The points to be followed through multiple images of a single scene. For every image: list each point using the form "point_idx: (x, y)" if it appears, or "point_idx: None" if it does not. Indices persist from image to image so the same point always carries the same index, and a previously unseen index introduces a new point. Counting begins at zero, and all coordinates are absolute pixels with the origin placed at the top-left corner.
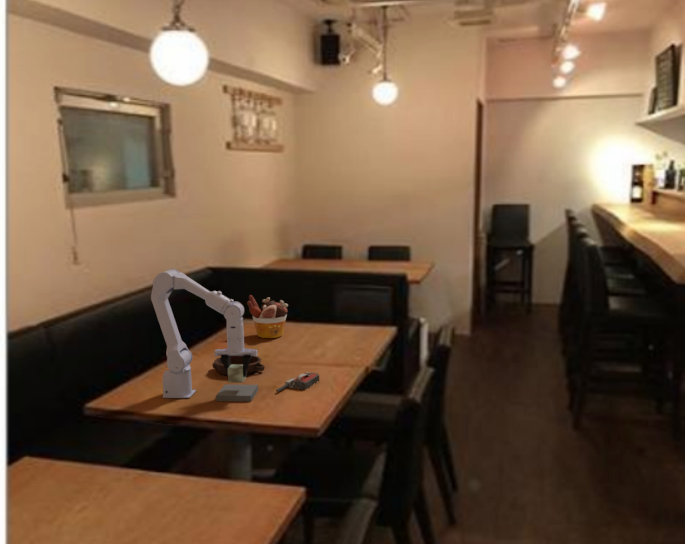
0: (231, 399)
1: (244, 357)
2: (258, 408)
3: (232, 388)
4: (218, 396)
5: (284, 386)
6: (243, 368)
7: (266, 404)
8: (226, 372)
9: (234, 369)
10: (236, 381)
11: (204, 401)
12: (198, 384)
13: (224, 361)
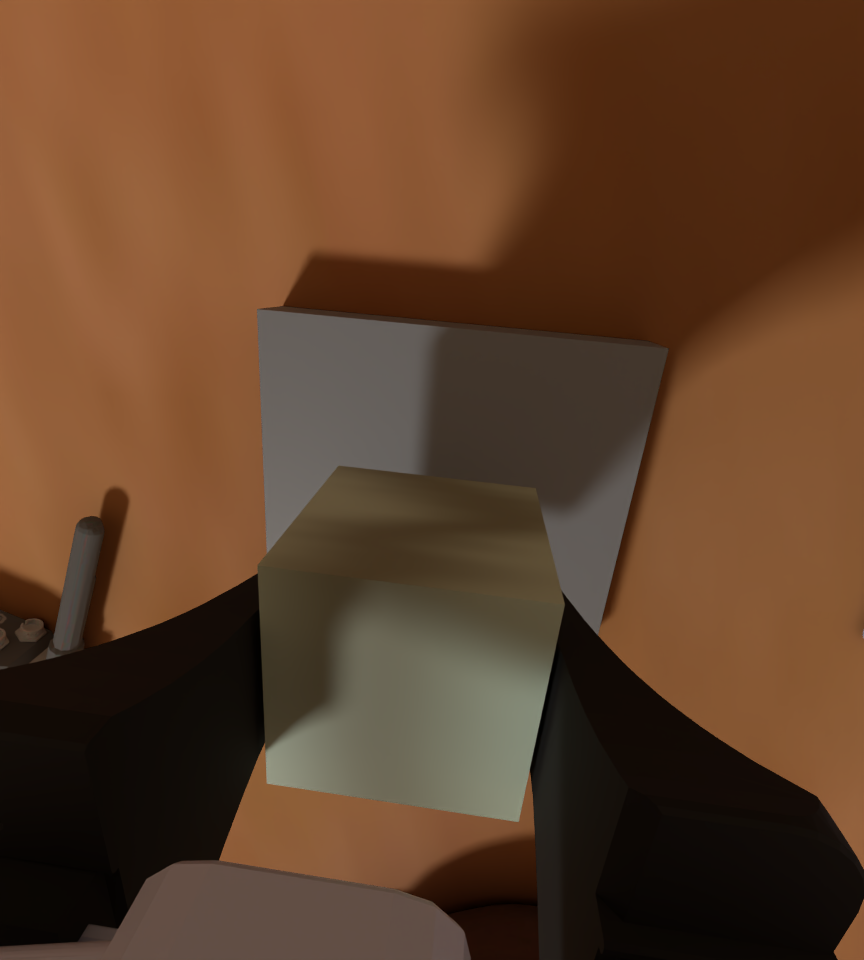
0: (481, 326)
1: (45, 815)
2: (143, 54)
3: None
4: (633, 345)
5: (59, 610)
6: (251, 609)
7: (103, 201)
8: (581, 616)
9: (418, 576)
10: (418, 482)
11: (779, 337)
12: (821, 791)
13: (682, 759)
